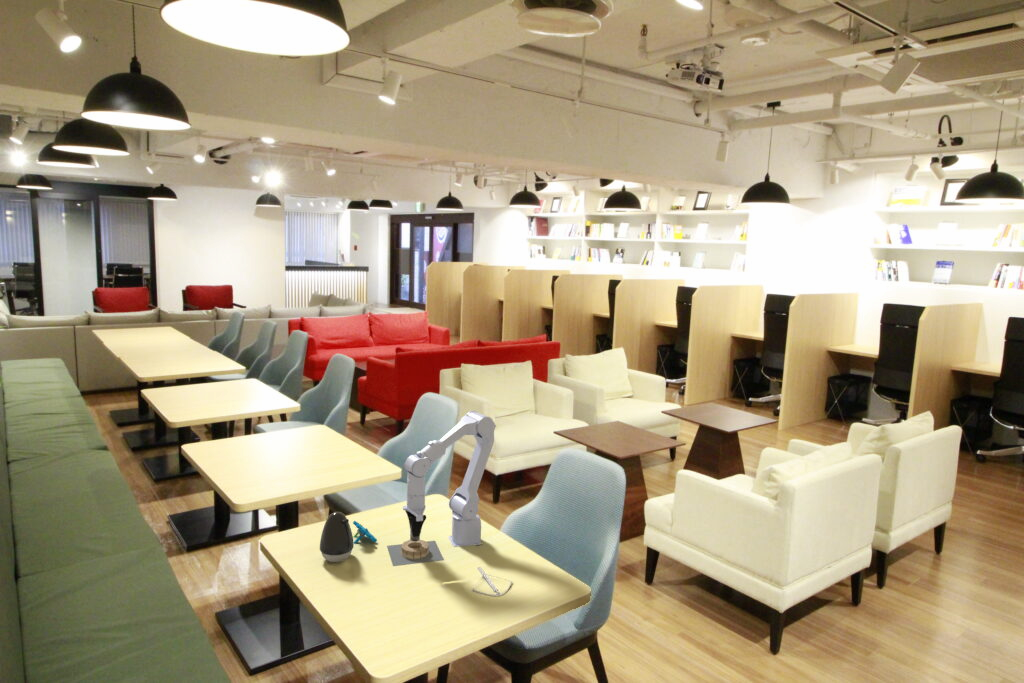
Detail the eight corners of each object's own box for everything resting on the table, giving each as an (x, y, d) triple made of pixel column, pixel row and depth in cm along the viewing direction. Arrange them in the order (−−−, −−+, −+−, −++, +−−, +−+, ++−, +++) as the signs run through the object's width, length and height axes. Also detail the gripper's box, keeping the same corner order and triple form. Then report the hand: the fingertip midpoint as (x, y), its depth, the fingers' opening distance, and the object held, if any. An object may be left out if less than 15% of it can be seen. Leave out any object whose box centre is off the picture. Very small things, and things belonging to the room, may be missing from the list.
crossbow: (519, 596, 188) (519, 589, 188) (478, 604, 183) (479, 598, 183) (497, 567, 202) (498, 561, 202) (459, 574, 197) (460, 568, 197)
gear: (381, 542, 212) (358, 523, 209) (368, 557, 210) (346, 538, 208) (374, 533, 222) (352, 515, 219) (362, 547, 221) (340, 529, 218)
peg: (418, 536, 209) (419, 519, 209) (420, 541, 207) (420, 523, 206) (409, 537, 209) (409, 520, 208) (410, 541, 206) (411, 523, 205)
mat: (434, 542, 217) (434, 540, 217) (444, 561, 204) (444, 559, 204) (386, 547, 212) (386, 545, 212) (392, 567, 199) (393, 565, 199)
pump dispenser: (334, 570, 196) (334, 522, 194) (313, 559, 203) (312, 512, 200) (360, 558, 204) (361, 512, 202) (339, 547, 211) (339, 503, 208)
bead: (425, 545, 214) (425, 538, 213) (430, 557, 206) (430, 549, 205) (399, 548, 211) (399, 541, 211) (403, 560, 203) (403, 552, 203)
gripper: (399, 485, 211) (399, 525, 213) (407, 502, 197) (406, 545, 199) (421, 484, 213) (420, 523, 215) (430, 500, 200) (429, 542, 202)
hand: (415, 533), depth 207 cm, fingers closed on peg, 3 cm apart
